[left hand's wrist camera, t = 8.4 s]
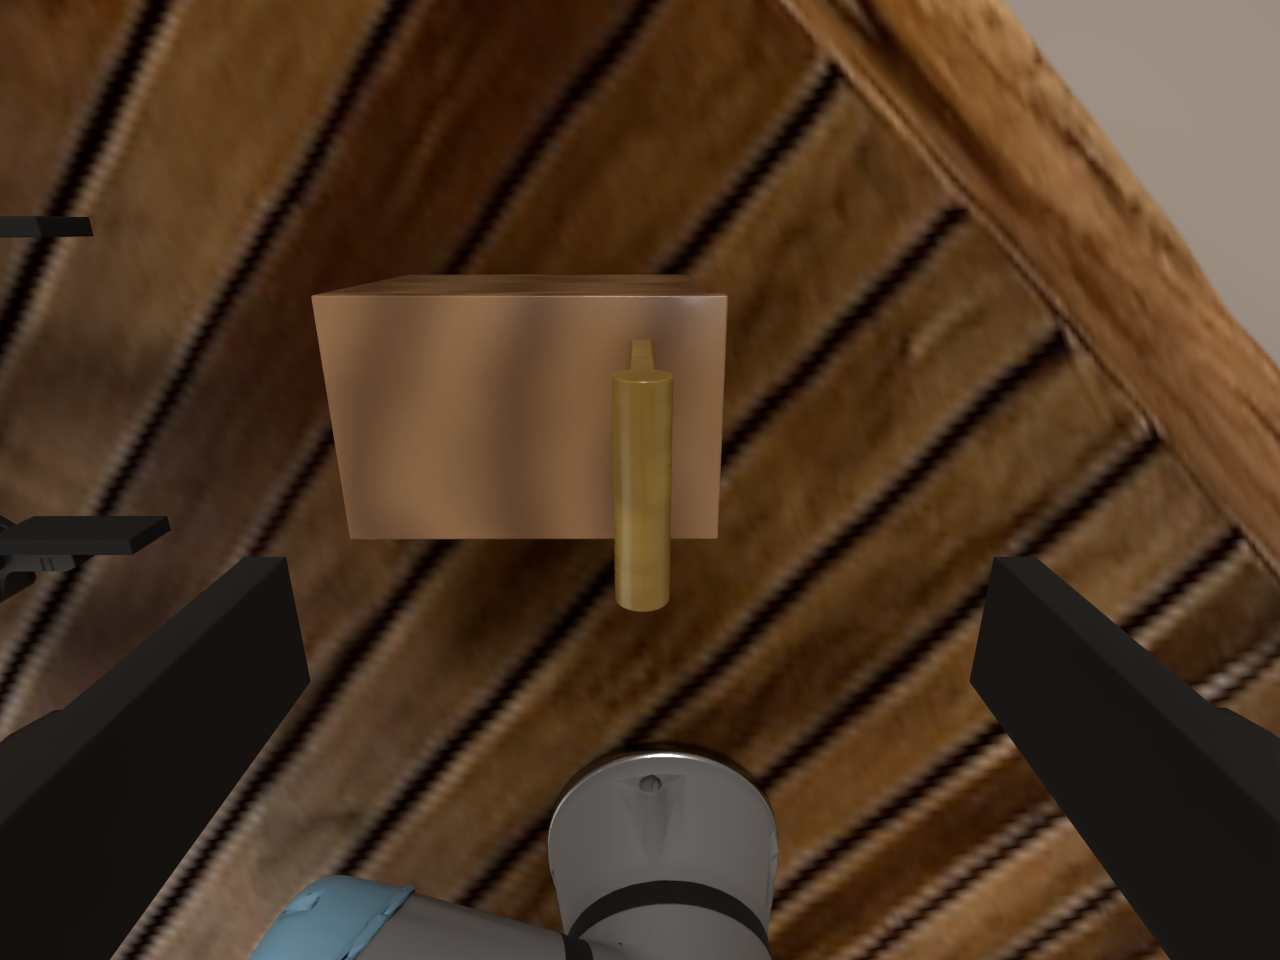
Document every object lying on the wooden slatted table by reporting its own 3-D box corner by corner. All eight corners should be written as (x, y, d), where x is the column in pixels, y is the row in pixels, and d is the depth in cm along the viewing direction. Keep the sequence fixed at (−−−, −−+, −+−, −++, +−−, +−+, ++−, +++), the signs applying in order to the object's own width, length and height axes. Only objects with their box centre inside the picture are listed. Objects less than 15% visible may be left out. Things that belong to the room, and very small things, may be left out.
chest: (689, 274, 35) (707, 292, 25) (684, 453, 38) (699, 528, 28) (408, 274, 34) (323, 292, 25) (428, 453, 38) (359, 528, 28)
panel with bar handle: (724, 292, 25) (766, 326, 17) (715, 529, 28) (746, 653, 20) (322, 292, 25) (168, 326, 17) (359, 529, 28) (244, 654, 20)
